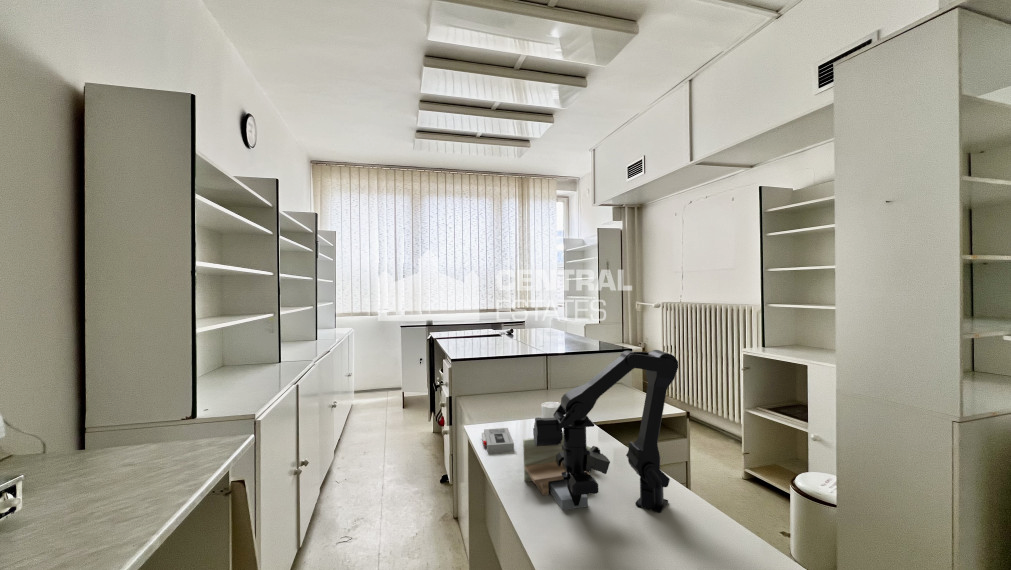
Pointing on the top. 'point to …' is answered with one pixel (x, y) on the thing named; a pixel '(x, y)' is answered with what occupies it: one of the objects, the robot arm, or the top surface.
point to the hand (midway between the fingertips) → (576, 505)
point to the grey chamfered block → (565, 495)
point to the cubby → (542, 464)
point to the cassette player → (498, 440)
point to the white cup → (549, 409)
